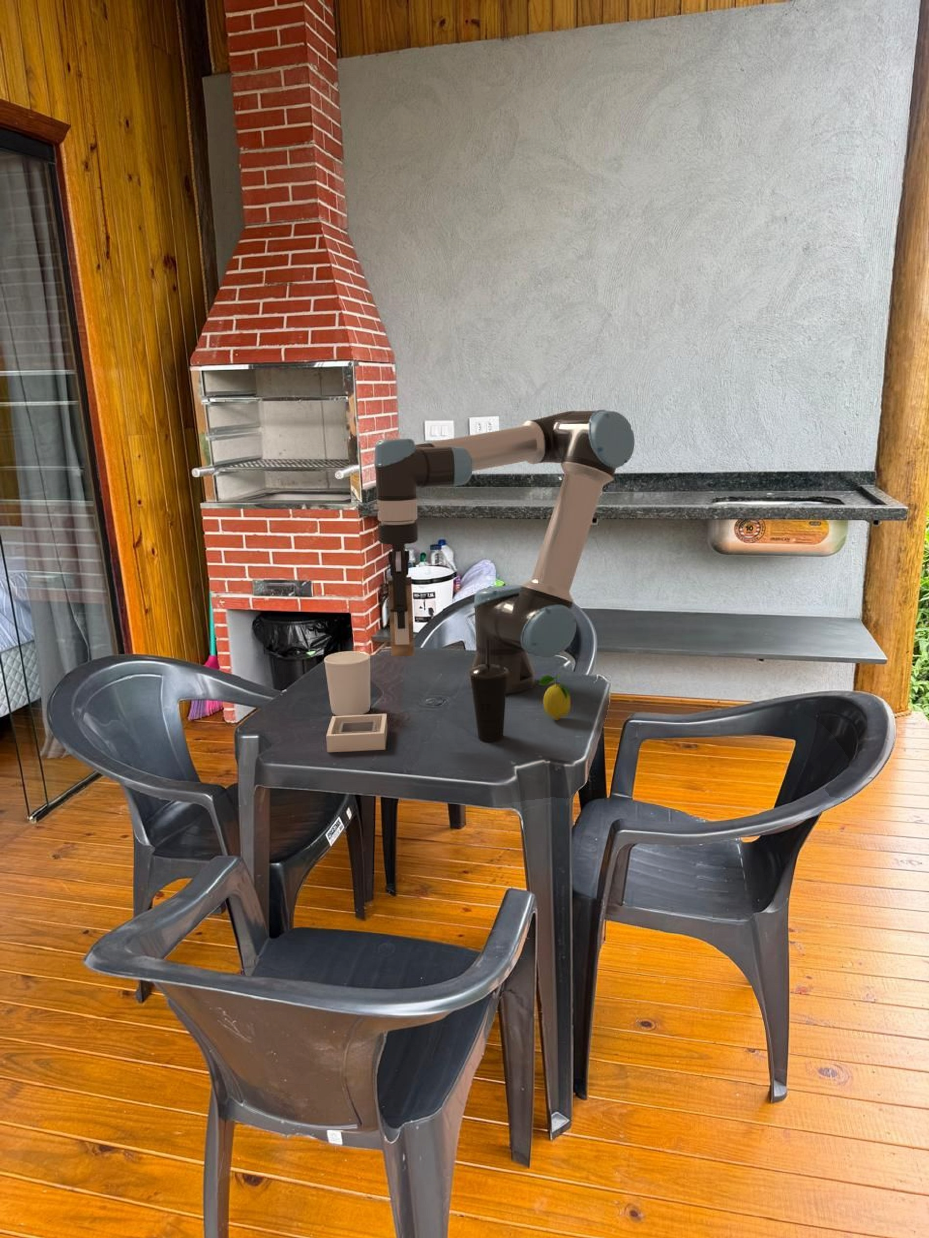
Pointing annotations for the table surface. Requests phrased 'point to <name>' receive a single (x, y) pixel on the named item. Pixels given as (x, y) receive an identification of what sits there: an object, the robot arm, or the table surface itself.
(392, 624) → the brown bar
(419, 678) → the table surface
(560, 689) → the lemon
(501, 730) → the drinking cup
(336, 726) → the cream open tray
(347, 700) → the cream cup
